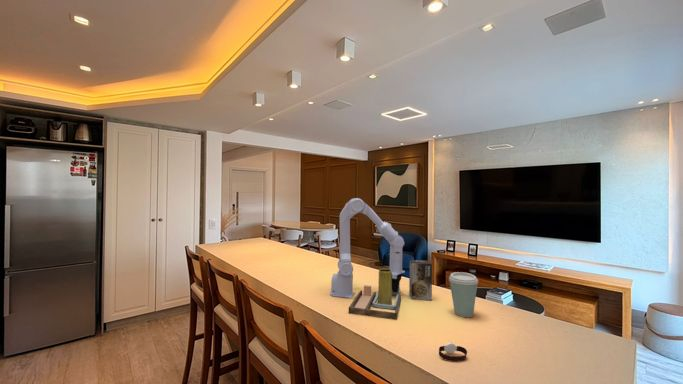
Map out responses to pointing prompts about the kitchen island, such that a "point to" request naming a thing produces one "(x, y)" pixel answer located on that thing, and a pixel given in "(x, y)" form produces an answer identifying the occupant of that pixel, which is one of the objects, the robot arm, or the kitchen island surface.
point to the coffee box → (420, 280)
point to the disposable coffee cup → (463, 293)
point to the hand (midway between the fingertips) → (395, 290)
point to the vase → (385, 287)
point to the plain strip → (364, 297)
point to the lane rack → (373, 313)
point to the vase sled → (385, 304)
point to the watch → (451, 349)
